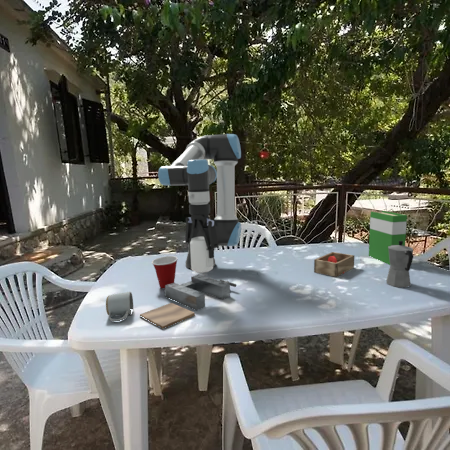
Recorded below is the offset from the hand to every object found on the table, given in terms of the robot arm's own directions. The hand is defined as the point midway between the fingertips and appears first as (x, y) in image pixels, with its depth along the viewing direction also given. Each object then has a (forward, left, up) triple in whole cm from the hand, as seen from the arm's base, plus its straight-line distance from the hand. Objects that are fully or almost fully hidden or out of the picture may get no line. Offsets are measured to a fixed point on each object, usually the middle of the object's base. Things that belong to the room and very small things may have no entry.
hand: (202, 263), depth 124 cm
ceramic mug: (-10, -29, -14) cm, 33 cm away
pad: (+2, -18, -14) cm, 23 cm away
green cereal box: (+33, +96, -14) cm, 102 cm away
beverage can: (0, 0, -3) cm, 3 cm away
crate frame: (+21, +64, -14) cm, 69 cm away
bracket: (+21, +63, -14) cm, 68 cm away
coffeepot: (+50, +62, -14) cm, 81 cm away
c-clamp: (-3, +3, -14) cm, 14 cm away
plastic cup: (-22, -1, -14) cm, 26 cm away
